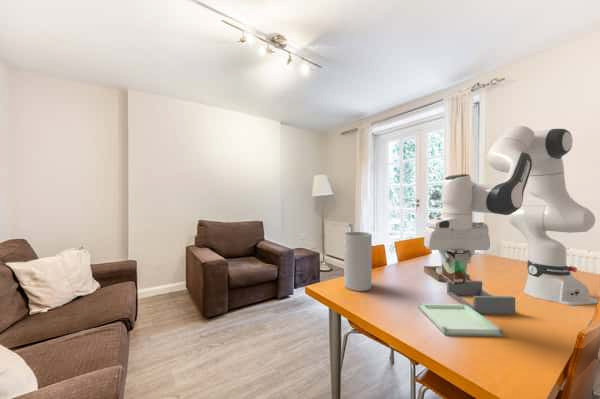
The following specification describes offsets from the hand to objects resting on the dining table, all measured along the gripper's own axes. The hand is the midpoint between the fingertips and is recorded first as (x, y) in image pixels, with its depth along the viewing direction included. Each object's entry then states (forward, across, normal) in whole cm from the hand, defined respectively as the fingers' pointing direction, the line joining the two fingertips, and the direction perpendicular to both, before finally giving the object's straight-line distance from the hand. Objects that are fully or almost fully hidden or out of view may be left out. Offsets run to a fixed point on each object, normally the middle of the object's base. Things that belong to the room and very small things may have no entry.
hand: (456, 262), depth 80 cm
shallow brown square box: (+20, -22, -45) cm, 54 cm away
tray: (+20, 0, 0) cm, 20 cm away
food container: (+6, 0, 0) cm, 6 cm away
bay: (+20, -17, -14) cm, 30 cm away
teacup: (+20, -20, -43) cm, 52 cm away
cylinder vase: (+20, +27, -30) cm, 45 cm away
